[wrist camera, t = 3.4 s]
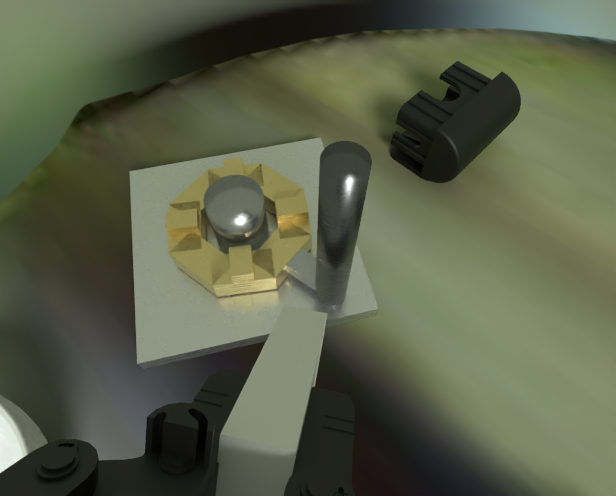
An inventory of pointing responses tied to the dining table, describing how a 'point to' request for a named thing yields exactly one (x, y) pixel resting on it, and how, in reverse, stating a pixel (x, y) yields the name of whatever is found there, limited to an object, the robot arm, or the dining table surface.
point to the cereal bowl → (17, 434)
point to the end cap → (454, 123)
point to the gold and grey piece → (291, 228)
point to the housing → (223, 234)
